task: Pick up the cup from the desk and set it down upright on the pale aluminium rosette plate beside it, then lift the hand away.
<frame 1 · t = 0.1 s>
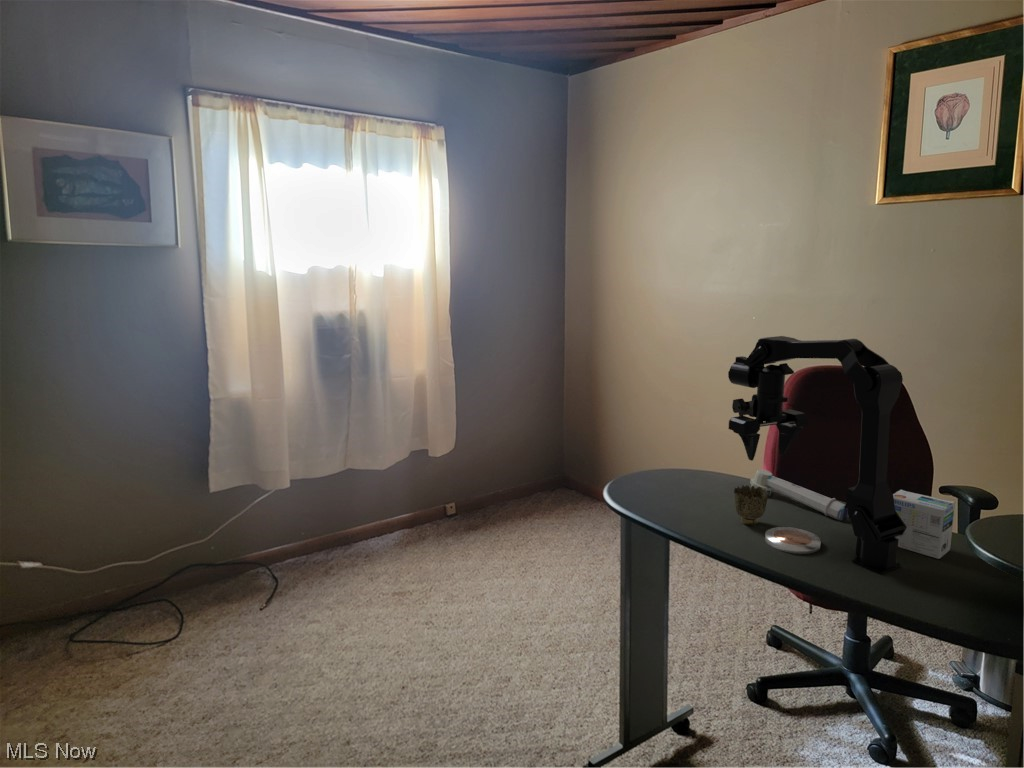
hand: (766, 457, 154), 15 cm above the table, tool pointing down, fingers open, 9 cm apart
white long bar: (795, 505, 164), on the table
rosette plate: (792, 542, 143), on the table
cup: (749, 523, 153), on the table
light bulb box: (916, 547, 140), on the table
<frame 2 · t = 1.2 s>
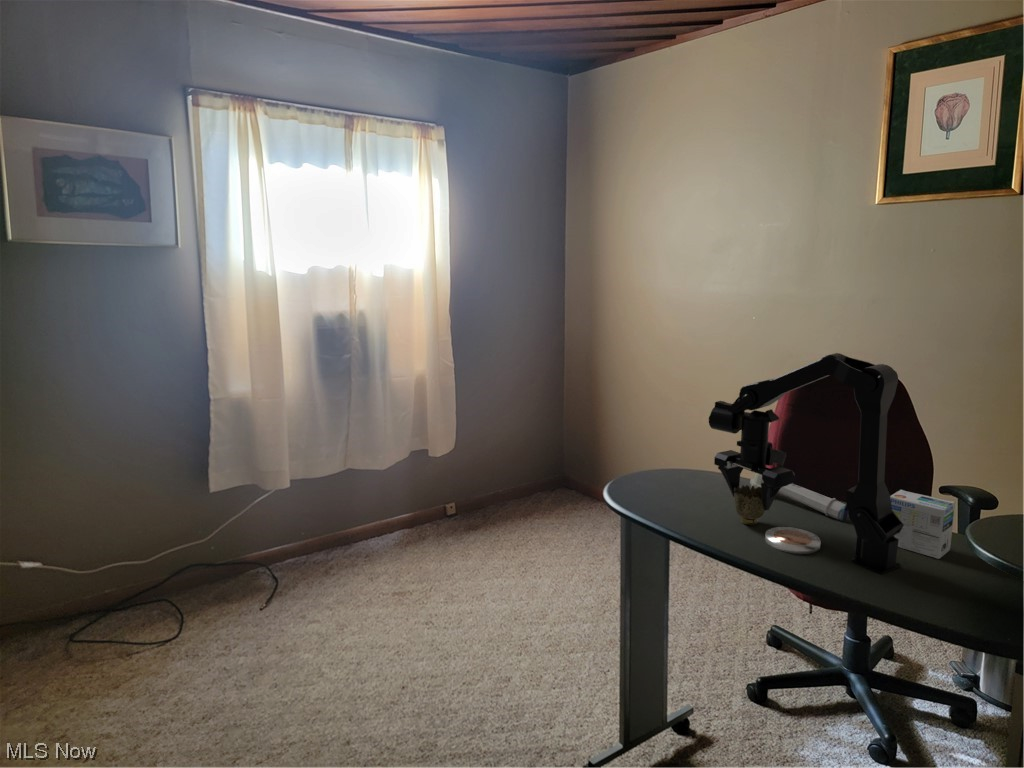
hand: (750, 503, 152), 5 cm above the table, tool pointing down, fingers open, 9 cm apart
nothing on the table moved.
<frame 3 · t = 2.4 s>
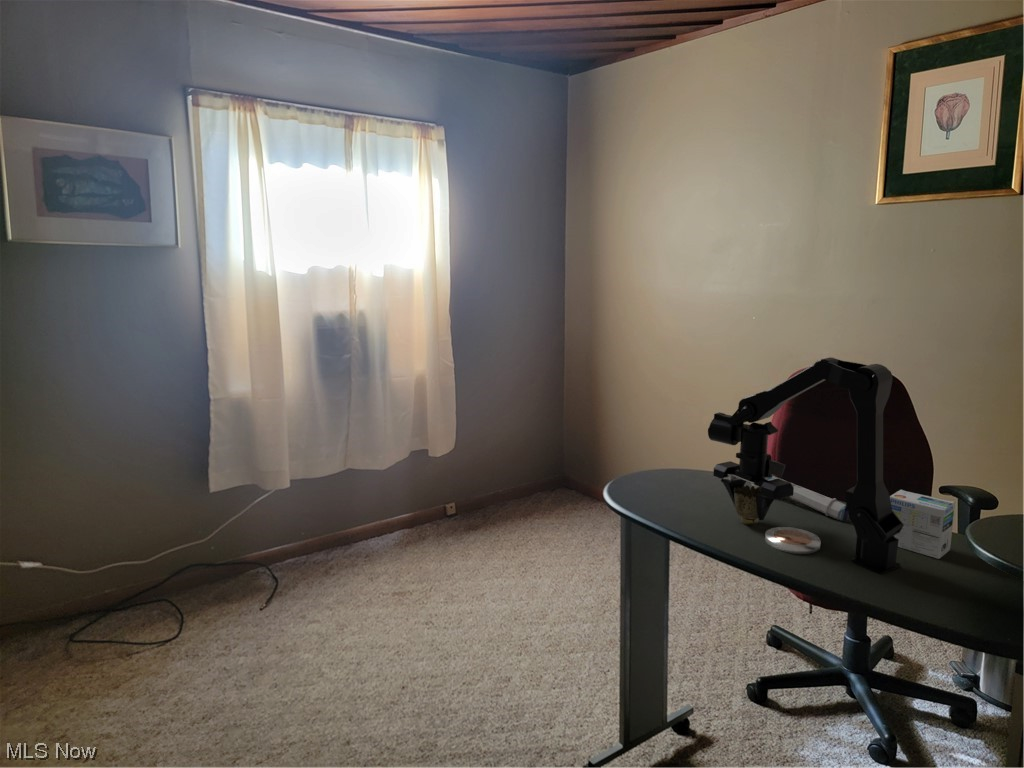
hand: (749, 514, 153), 2 cm above the table, tool pointing down, fingers closed on cup, 6 cm apart
cup: (749, 523, 153), on the table, touching gripper
everything else where it was.
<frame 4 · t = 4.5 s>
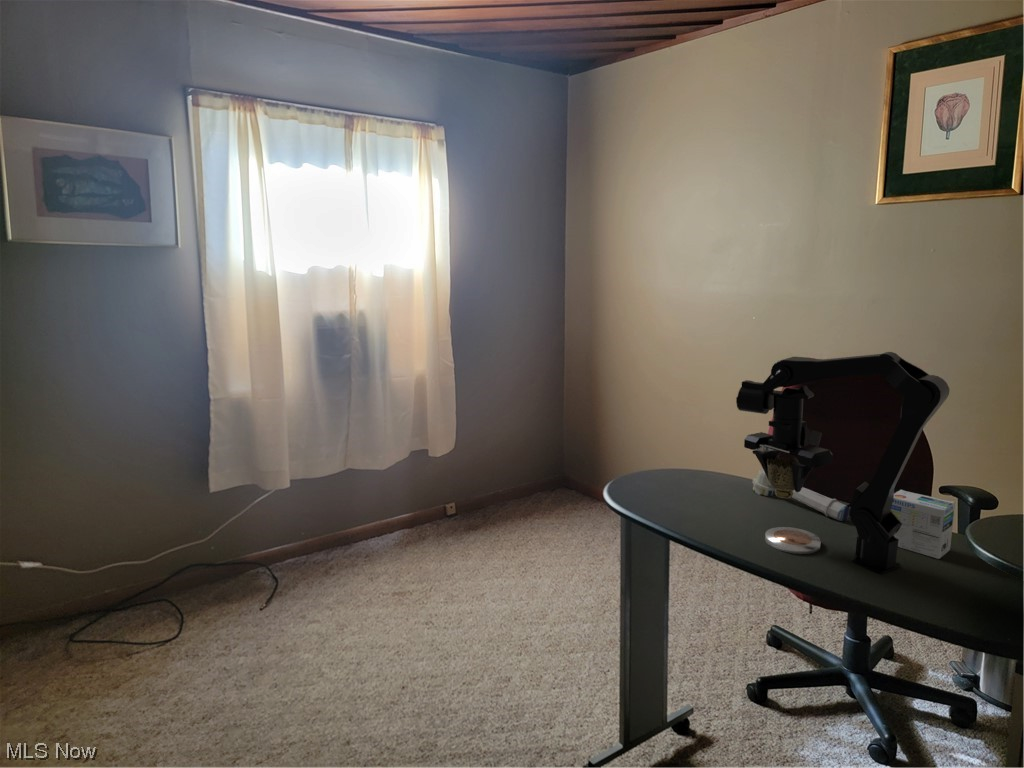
hand: (784, 487, 143), 11 cm above the table, tool pointing down, fingers closed on cup, 6 cm apart
cup: (783, 497, 144), point 9 cm above the table, touching gripper
everything else where it was.
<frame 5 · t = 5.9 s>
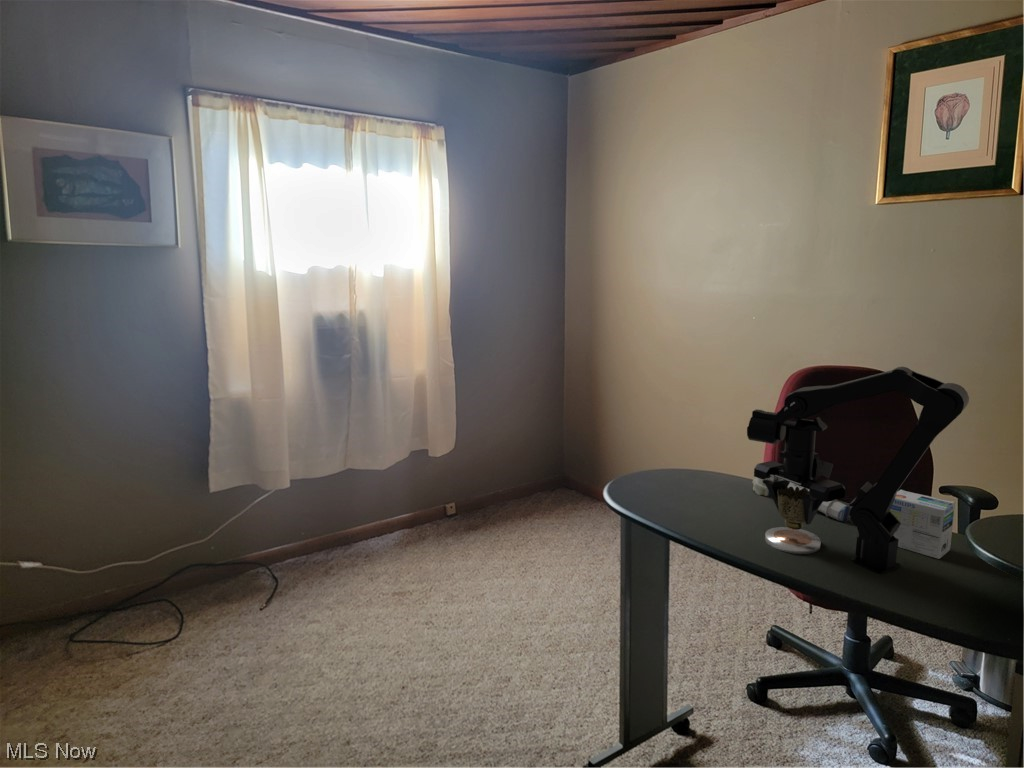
hand: (794, 518, 141), 6 cm above the table, tool pointing down, fingers closed on cup, 6 cm apart
cup: (793, 528, 142), point 3 cm above the table, touching gripper
everything else where it was.
when the fingers open (4 cm above the table, at t = 7.0 s): cup drops 1 cm, resting on rosette plate.
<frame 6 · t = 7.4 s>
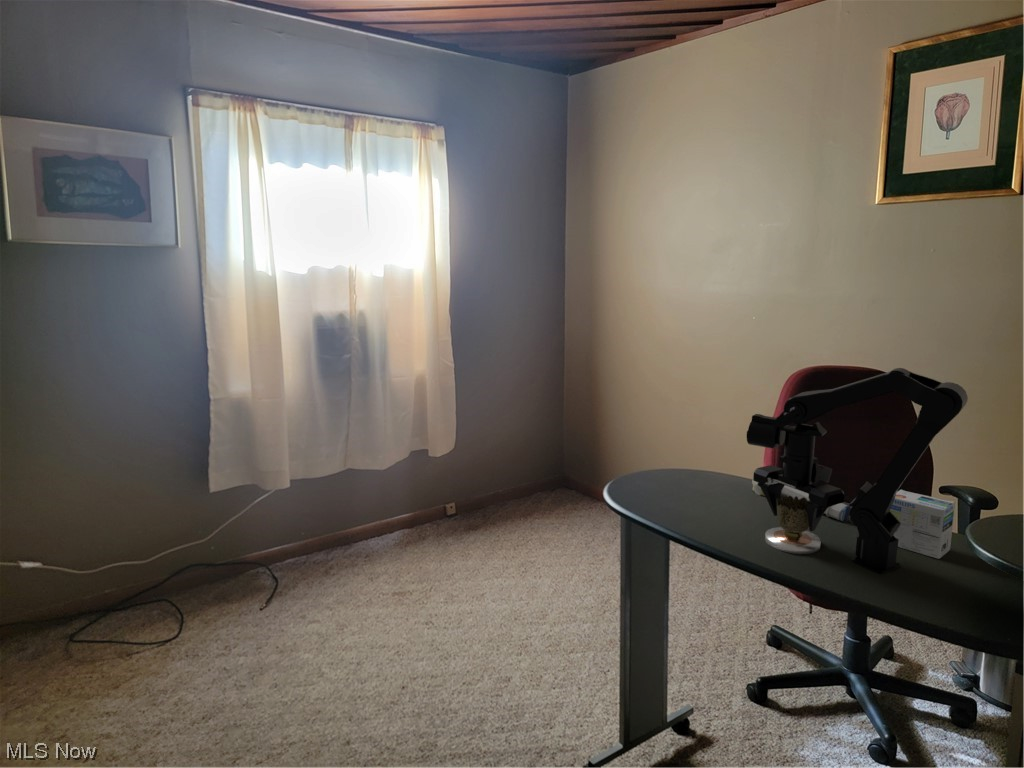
hand: (793, 522, 142), 4 cm above the table, tool pointing down, fingers open, 9 cm apart
cup: (792, 537, 142), point 1 cm above the table, touching rosette plate
everything else where it was.
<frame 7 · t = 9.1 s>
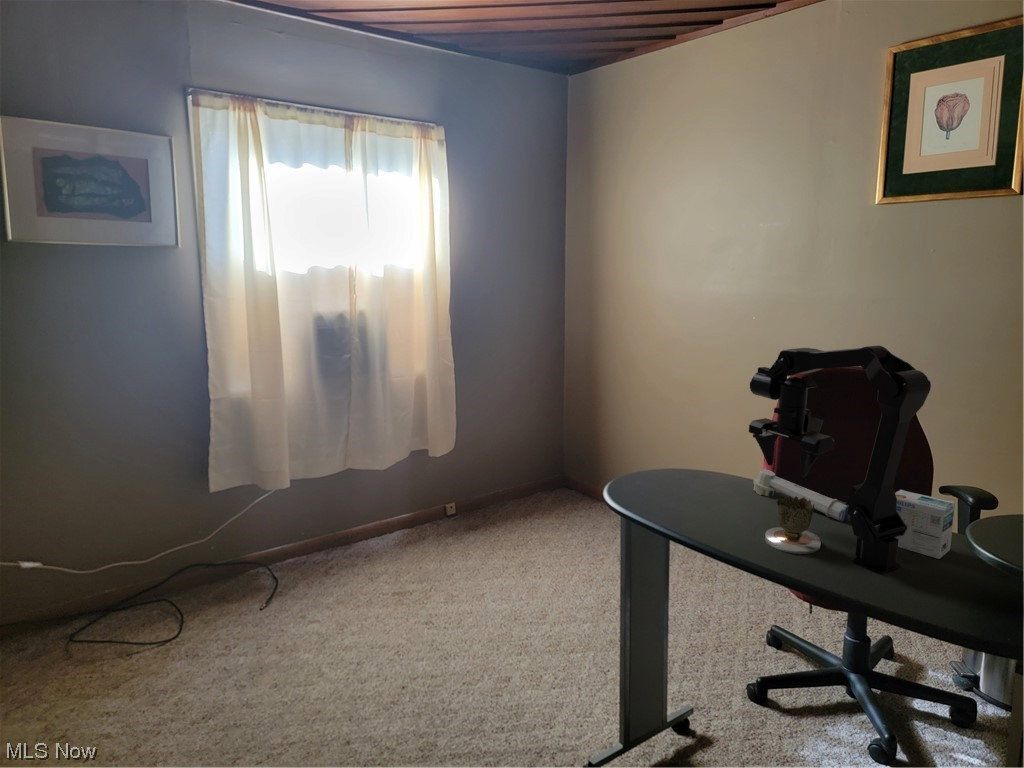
hand: (786, 471, 151), 12 cm above the table, tool pointing down, fingers open, 9 cm apart
nothing on the table moved.
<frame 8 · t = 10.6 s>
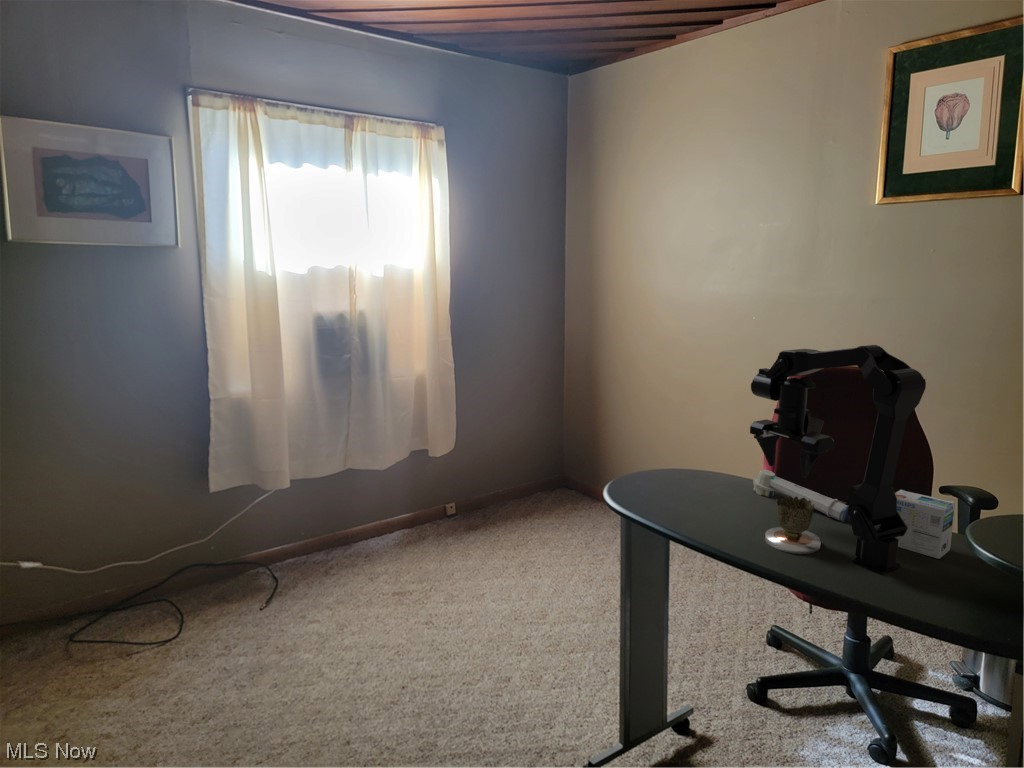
hand: (787, 471, 152), 12 cm above the table, tool pointing down, fingers open, 9 cm apart
nothing on the table moved.
at the end: cup 0.1 cm off-centre on the rosette plate, point 1.1 cm above the rosette plate's base; cup tilted 0°; the gripper is holding nothing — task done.
